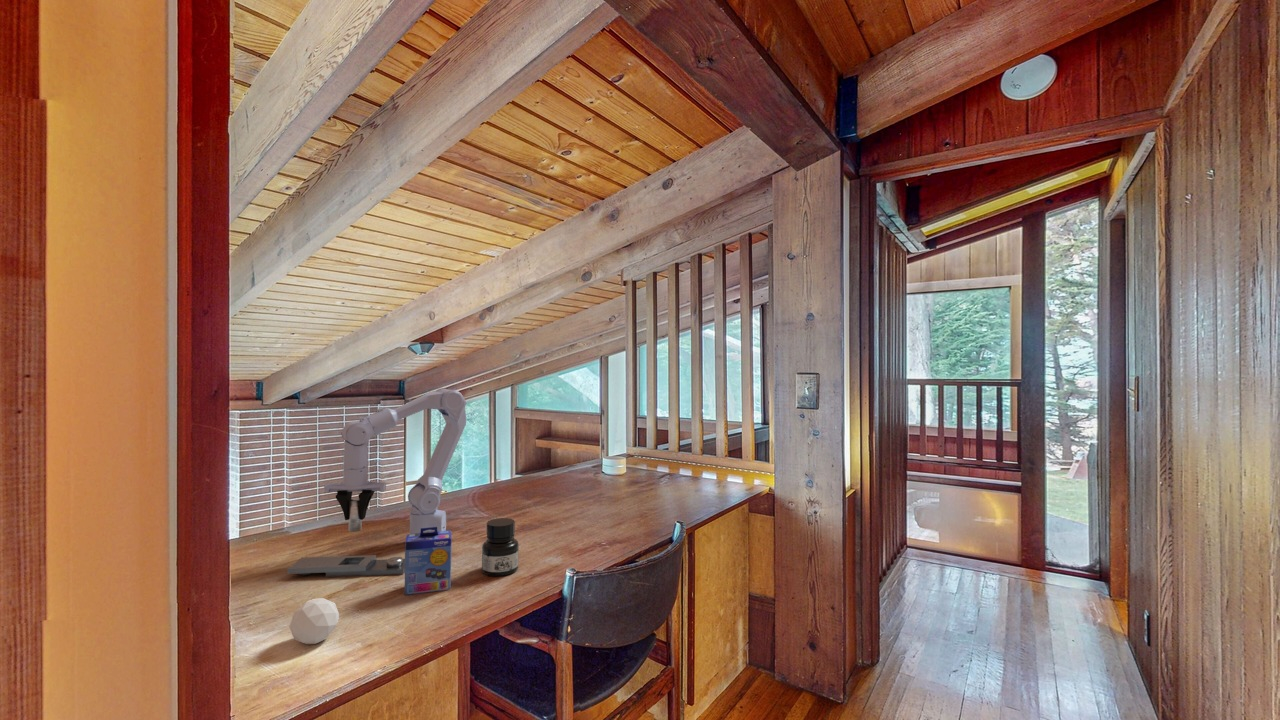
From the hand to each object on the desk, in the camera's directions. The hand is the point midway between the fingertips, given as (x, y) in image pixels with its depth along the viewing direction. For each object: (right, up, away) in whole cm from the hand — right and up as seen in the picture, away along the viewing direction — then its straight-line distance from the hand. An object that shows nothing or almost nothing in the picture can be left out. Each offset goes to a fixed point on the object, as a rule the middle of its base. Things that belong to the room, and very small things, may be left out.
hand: (355, 518), depth 140 cm
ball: (+14, -11, -41) cm, 45 cm away
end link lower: (+8, -10, -9) cm, 16 cm away
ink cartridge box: (+27, -11, -18) cm, 34 cm away
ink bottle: (+40, -11, -7) cm, 42 cm away
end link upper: (0, -10, -10) cm, 14 cm away
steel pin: (0, -3, 0) cm, 3 cm away
